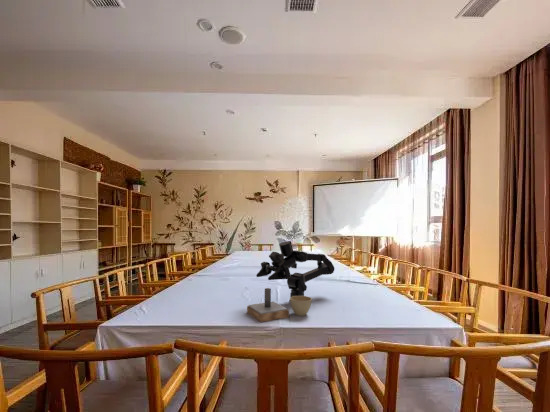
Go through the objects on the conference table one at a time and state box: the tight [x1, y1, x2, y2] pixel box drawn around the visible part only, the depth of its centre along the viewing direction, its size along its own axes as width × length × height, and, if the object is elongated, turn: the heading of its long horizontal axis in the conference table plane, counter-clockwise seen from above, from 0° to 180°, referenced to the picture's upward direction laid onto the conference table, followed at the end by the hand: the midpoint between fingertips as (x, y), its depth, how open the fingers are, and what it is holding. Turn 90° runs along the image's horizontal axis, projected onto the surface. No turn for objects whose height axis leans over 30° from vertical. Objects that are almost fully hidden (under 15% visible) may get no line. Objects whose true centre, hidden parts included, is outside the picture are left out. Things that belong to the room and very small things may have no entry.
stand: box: [246, 305, 290, 323], centre depth 130 cm, size 14×14×3 cm
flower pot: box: [289, 295, 312, 317], centre depth 132 cm, size 10×10×7 cm
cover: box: [248, 287, 288, 314], centre depth 131 cm, size 13×13×9 cm
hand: (262, 277), depth 138 cm, fingers open, 9 cm apart
